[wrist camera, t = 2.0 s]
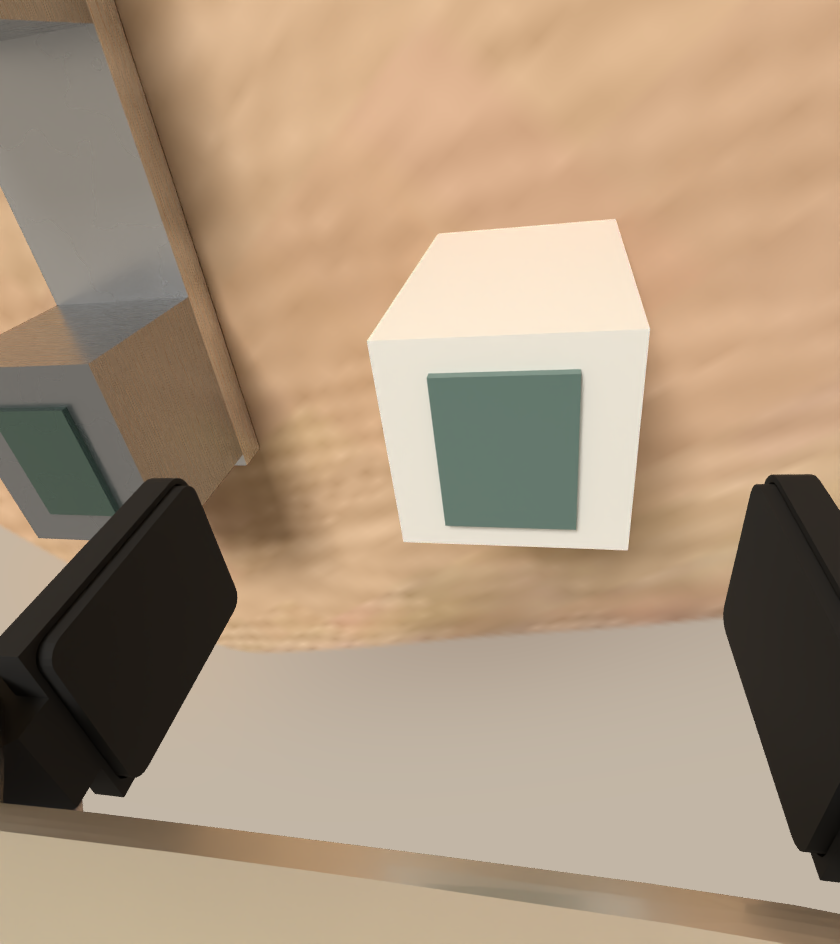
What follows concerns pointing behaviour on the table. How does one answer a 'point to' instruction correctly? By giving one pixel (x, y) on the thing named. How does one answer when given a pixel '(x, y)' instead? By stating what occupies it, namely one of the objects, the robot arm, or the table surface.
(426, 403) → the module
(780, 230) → the table surface
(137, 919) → the robot arm
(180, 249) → the rail
